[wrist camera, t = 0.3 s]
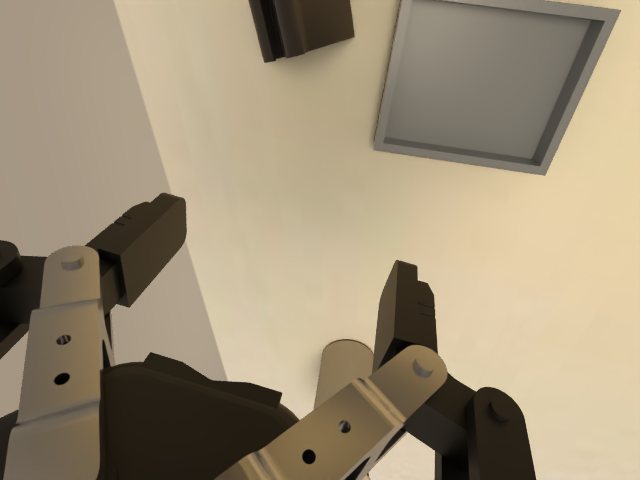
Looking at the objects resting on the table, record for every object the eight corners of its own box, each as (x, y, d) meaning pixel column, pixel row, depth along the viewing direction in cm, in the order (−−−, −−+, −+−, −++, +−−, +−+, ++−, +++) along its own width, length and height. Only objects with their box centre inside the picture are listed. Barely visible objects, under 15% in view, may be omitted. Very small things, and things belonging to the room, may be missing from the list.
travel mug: (354, 331, 54) (345, 457, 38) (385, 364, 56) (388, 494, 41) (312, 350, 57) (288, 473, 42) (342, 381, 59) (330, 507, 44)
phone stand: (263, 56, 36) (219, 73, 26) (245, -17, 33) (188, -30, 23) (354, 37, 34) (345, 46, 24) (344, -42, 31) (329, -69, 21)
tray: (403, -15, 32) (405, -17, 29) (601, 10, 31) (621, 9, 28) (373, 141, 39) (373, 149, 37) (533, 164, 38) (545, 175, 36)
